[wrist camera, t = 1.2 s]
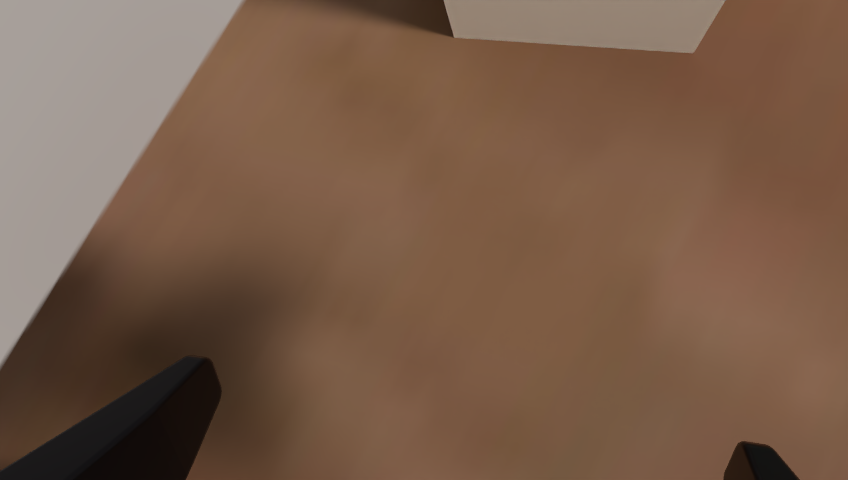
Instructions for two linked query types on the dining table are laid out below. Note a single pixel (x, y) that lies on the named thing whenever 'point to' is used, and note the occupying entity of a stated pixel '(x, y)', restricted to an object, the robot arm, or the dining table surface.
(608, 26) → the tile
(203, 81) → the dining table surface
